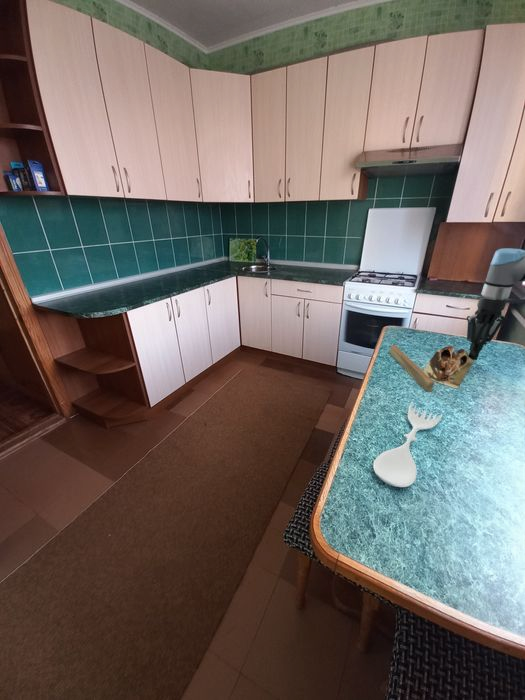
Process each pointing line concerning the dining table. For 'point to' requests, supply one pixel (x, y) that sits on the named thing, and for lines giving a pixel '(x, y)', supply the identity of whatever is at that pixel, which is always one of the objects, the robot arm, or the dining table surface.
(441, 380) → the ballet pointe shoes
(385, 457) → the spoon
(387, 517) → the dining table surface
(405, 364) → the light brown wooden bar
